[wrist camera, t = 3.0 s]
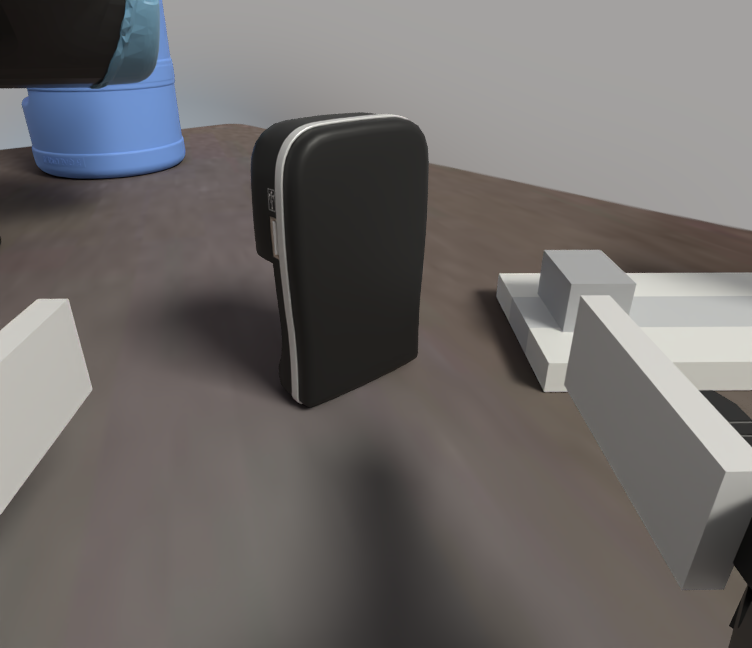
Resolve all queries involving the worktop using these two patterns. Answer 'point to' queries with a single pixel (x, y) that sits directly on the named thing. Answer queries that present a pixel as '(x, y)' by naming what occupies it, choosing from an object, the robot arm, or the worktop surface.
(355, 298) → the battery charger
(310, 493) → the worktop surface
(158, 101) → the water jug
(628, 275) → the mount
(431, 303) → the worktop surface
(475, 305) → the worktop surface
